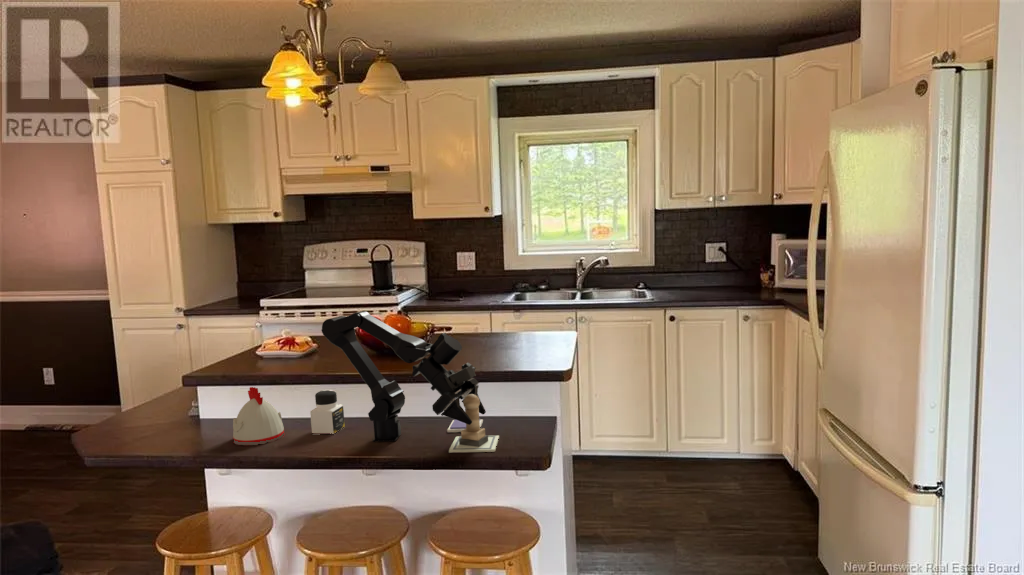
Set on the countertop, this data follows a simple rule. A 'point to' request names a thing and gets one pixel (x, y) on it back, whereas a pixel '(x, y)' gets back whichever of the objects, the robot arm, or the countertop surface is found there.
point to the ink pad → (459, 426)
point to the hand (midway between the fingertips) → (478, 418)
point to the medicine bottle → (327, 413)
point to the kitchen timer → (257, 420)
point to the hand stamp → (473, 424)
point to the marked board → (486, 447)
